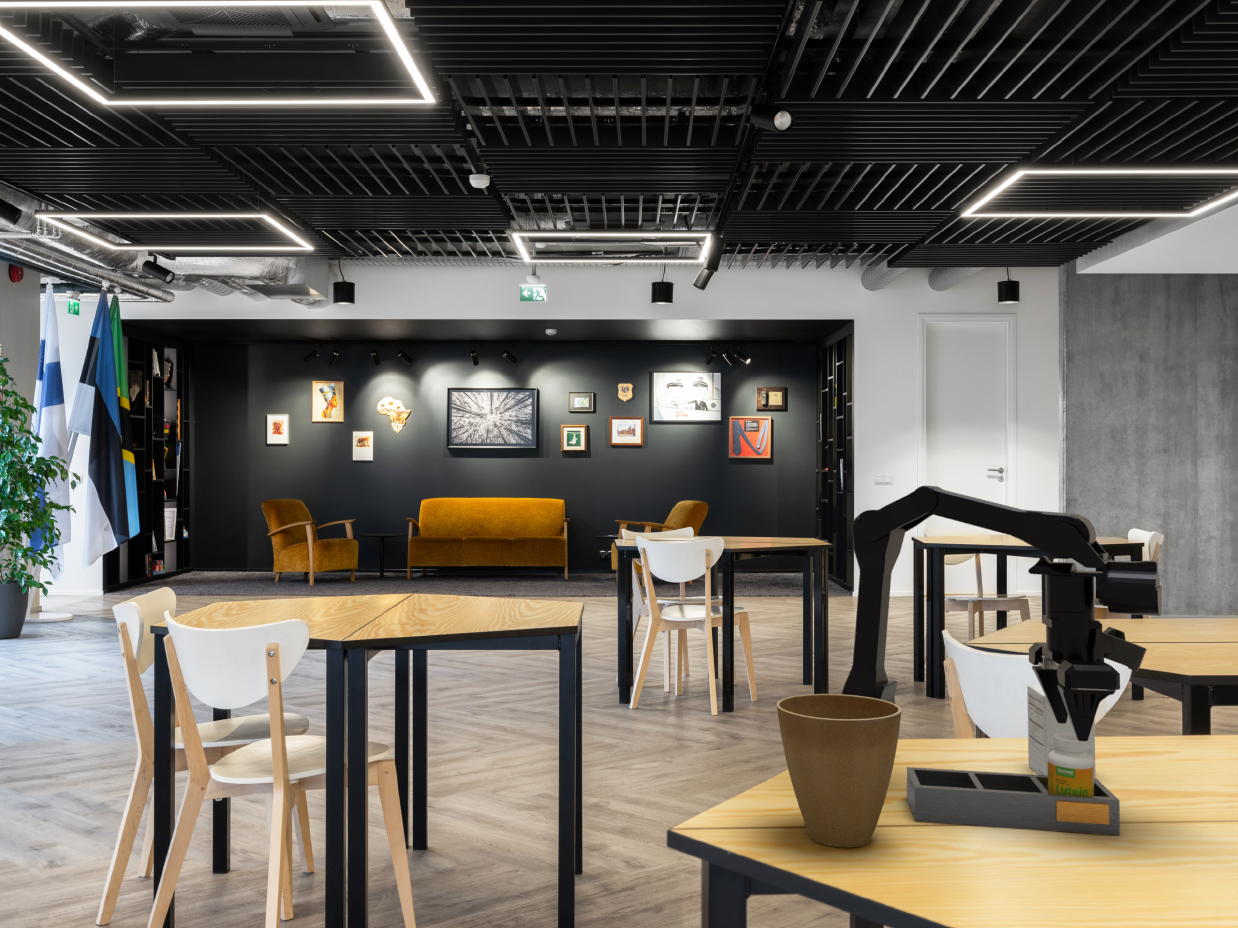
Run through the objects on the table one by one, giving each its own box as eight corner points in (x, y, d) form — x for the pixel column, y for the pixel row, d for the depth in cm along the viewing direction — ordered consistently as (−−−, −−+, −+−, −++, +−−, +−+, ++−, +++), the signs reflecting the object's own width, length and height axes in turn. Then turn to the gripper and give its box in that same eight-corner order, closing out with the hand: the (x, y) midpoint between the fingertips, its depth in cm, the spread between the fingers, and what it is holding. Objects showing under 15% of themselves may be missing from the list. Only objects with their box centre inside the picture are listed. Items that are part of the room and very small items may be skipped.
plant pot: (914, 829, 115) (914, 700, 116) (883, 870, 102) (883, 725, 103) (800, 807, 123) (800, 687, 123) (758, 843, 110) (758, 709, 110)
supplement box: (1076, 767, 142) (1075, 685, 142) (1096, 782, 134) (1095, 695, 135) (1026, 766, 142) (1026, 684, 143) (1044, 781, 135) (1043, 694, 135)
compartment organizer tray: (915, 821, 118) (915, 787, 118) (906, 798, 127) (906, 766, 127) (1120, 836, 113) (1120, 800, 113) (1096, 810, 122) (1096, 778, 122)
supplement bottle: (1051, 817, 117) (1050, 740, 117) (1045, 803, 122) (1044, 730, 122) (1098, 822, 115) (1097, 743, 116) (1090, 807, 120) (1089, 733, 121)
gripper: (1166, 621, 109) (1168, 754, 108) (1112, 603, 127) (1114, 717, 127) (1065, 618, 111) (1067, 749, 110) (1027, 601, 129) (1028, 713, 129)
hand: (1071, 731), depth 119 cm, fingers open, 9 cm apart
